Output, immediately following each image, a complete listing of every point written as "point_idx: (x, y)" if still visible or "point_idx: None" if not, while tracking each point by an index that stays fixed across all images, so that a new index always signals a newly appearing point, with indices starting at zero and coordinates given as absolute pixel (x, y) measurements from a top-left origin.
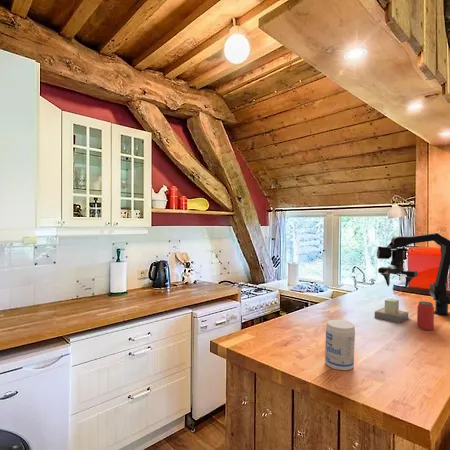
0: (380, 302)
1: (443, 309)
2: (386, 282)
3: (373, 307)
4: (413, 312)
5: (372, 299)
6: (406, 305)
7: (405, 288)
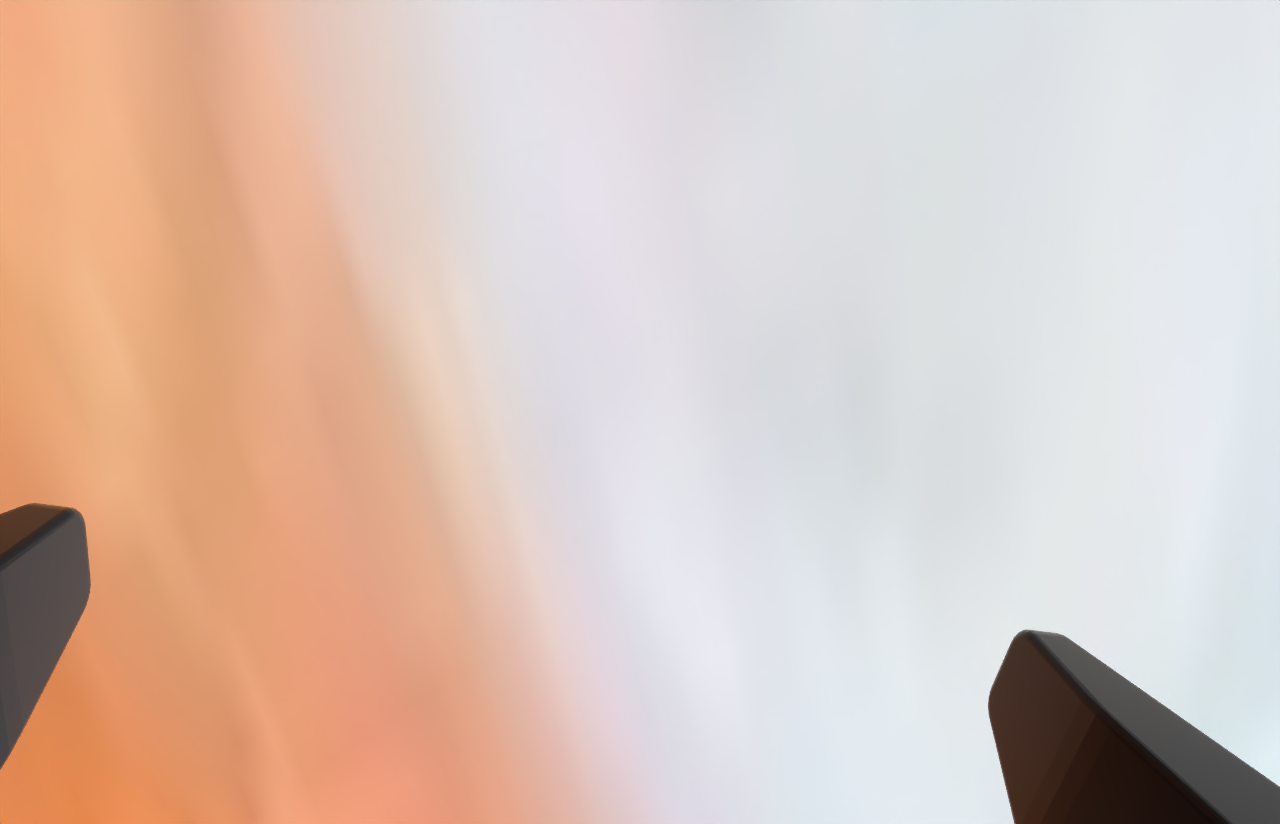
0: None
1: None
2: (1243, 764)
3: (1130, 191)
4: (251, 343)
5: None
6: (524, 766)
7: (60, 515)
